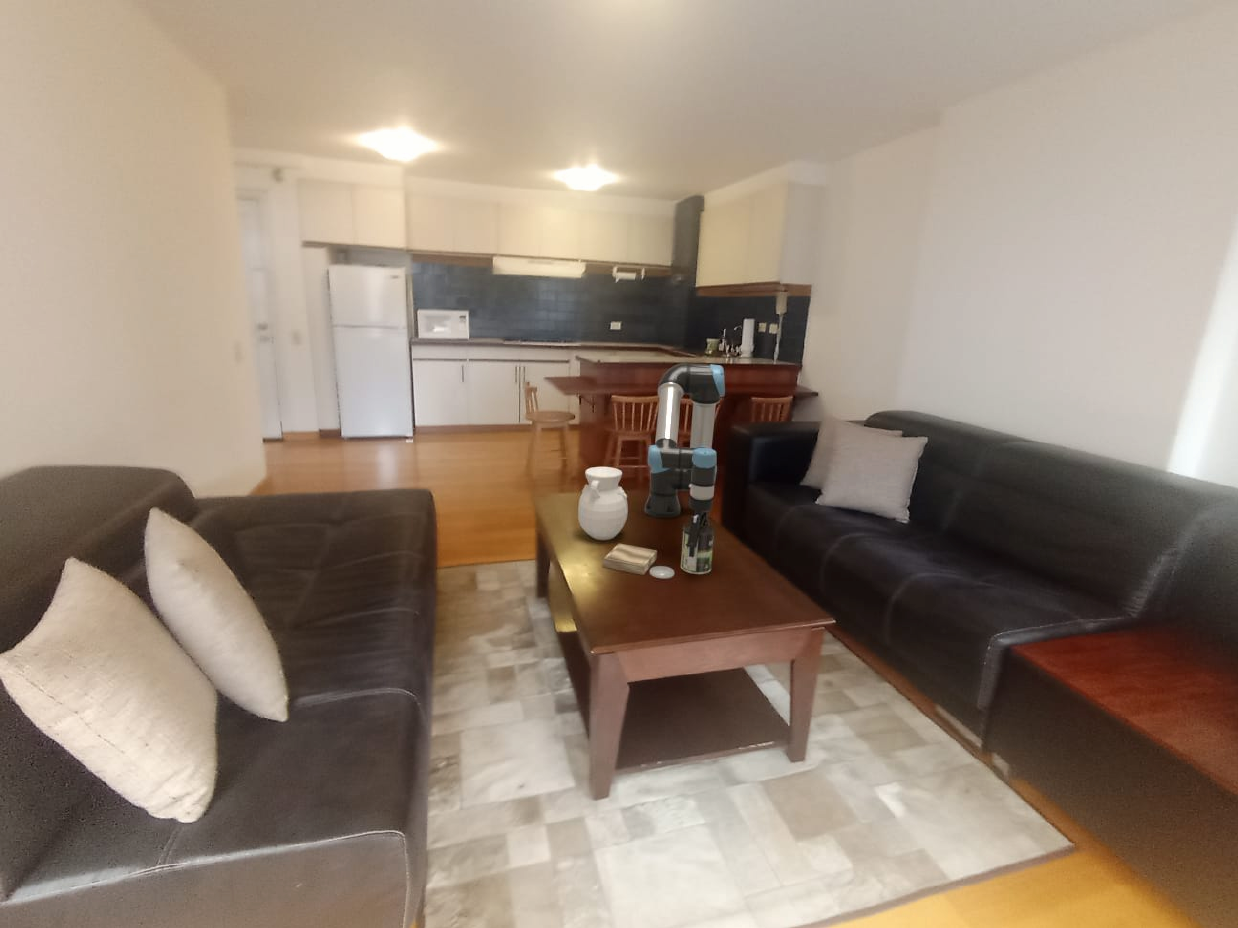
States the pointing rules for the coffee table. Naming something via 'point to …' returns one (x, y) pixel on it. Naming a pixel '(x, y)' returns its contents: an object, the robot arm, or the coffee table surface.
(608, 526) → the pitcher
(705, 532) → the coffee can
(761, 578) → the coffee table surface
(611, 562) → the folded beige cloth
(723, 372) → the robot arm
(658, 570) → the coaster
